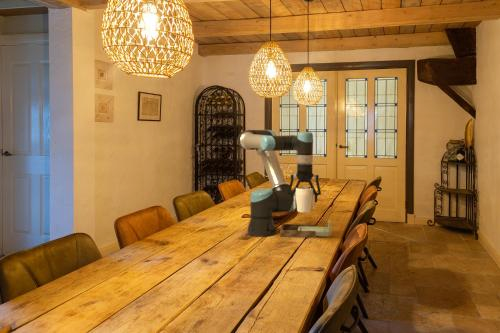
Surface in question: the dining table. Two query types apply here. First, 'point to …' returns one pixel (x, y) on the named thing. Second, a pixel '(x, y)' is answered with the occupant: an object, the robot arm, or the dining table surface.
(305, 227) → the tray
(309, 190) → the cup
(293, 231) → the dock
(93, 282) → the dining table surface
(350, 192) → the dining table surface
